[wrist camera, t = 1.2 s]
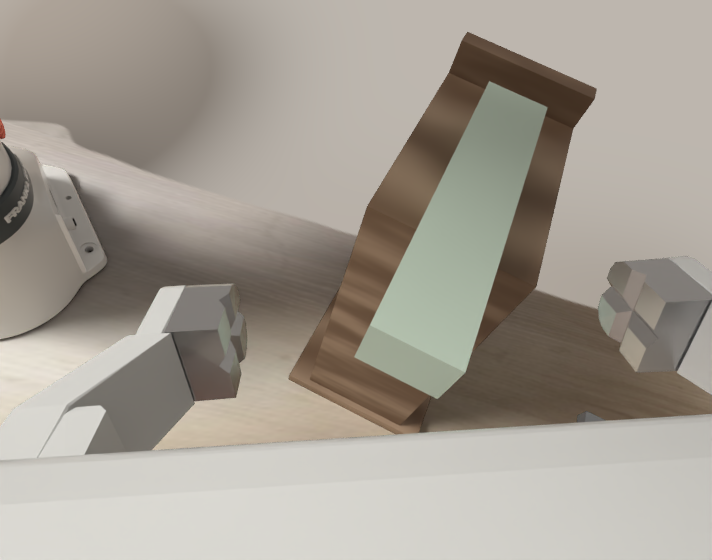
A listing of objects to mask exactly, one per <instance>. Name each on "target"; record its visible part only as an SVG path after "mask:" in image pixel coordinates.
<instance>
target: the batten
mask: <svg viewBox="0 0 712 560" xmlns="http://www.w3.org/2000/svg"><path fill="white" fill-rule="evenodd" d="M547 108H548V107H546V106H544V105H541V104H539V103H537V102H535V101H532V100H530V99H528V98H526V97H523V96H521V95H519V94H517V93H514V92H512V91H510V90H508V89H505V88H503V87H501V86H499V85H497V84H494V83H492V82H490V81H489V83H488V85H487V87H486V89H485V91H484V93H483V95H482V97H481V99H480V101H479V103H478V105H477V107H476V109H475V111H474V113H473V115H472V117H471V119H470V121H469V123H468V126H467V128H466V130H465V132H464V134H463V136H462V138H461V140H460V142H459V144H458V146H457V148H456V150H455V152H454V154H453V156H452V158H451V160H450V162H449V164H448V166H447V168H446V170H445V173H444V175H443V177H442V179H441V181H440V183H439V185H438V187H437V189H436V191H435V193H434V195H433V197H432V199H431V201H430V203H429V205H428V207H427V209H426V211H425V213H424V215H423V217H422V219H421V222H420V224H419V226H418V228H417V230H416V232H415V234H414V236H413V238H412V240H411V242H410V244H409V246H408V248H407V250H406V252H405V254H404V256H403V258H402V260H401V262H400V264H399V266H398V269H397V271H396V273H395V275H394V277H393V279H392V281H391V283H390V285H389V287H388V289H387V291H386V293H385V295H384V297H383V299H382V301H381V303H380V305H379V307H378V309H377V311H376V313H375V315H374V318H373V320H372V322H371V324H370V326H369V328H368V330H367V332H366V334H365V336H364V338H363V340H362V342H361V344H360V346H359V348H358V350H357V352H356V354H355V356H354V357H355V358H357V359H359V360H361V361H363V362H365V363H367V364H369V365H371V366H373V367H375V368H377V369H379V370H381V371H383V372H385V373H387V374H389V375H391V376H393V377H395V378H396V379H398V380H400V381H402V382H404V383H406V384H408V385H410V386H412V387H414V388H416V389H418V390H420V391H422V392H424V393H426V394H428V395H430V396H432V397H434V398H436V399H438V398H439V397H440V396H441V395H442V394H444V393H445V392H446V391H447V390H448V389H449V388H450V387H451V386H452V385H453V384H454V383H455V382H456V381H457V380H458V379H459V378H460V377H461V376H462V375H463V374H464V373H465V372H466V369H467V366H468V363H469V359H470V356H471V353H472V350H473V346H474V343H475V340H476V337H477V334H478V330H479V327H480V324H481V321H482V317H483V314H484V311H485V308H486V305H487V301H488V298H489V295H490V292H491V288H492V285H493V282H494V279H495V276H496V272H497V269H498V266H499V263H500V259H501V256H502V253H503V250H504V247H505V243H506V240H507V237H508V234H509V230H510V227H511V224H512V221H513V218H514V214H515V211H516V208H517V205H518V201H519V198H520V195H521V192H522V189H523V185H524V182H525V179H526V176H527V172H528V169H529V166H530V163H531V160H532V156H533V153H534V150H535V147H536V143H537V140H538V137H539V134H540V131H541V127H542V124H543V121H544V118H545V114H546V111H547Z"/></svg>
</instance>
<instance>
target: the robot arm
mask: <svg viewBox="0 0 712 560" xmlns="http://www.w3.org/2000/svg"><path fill="white" fill-rule="evenodd" d="M3 138H5V129H4V126H3V123H2V121H1V119H0V139H3ZM90 250H93V251H92V252H91V253H87V252H88V251H90ZM106 263H107V257H106V255H105V252H104V250H103V248H102V246H101V244H100V241H99V239H98V237H97V235H96V233H95V230H94V228H93V226H92V224H91V222H90V219H89V217H88V215H87V213H86V211H85V208H84V206H83V204H82V202H81V200H80V197H79V195H78V193H77V191H76V189H75V186H74V184H73V182H72V180H71V178H70V176H69V175H68V173H67V171H66V170H64V169H62V168H58V167H55V166H50V165H43V164H40V162H39V160H38V158H37V156H36V155H35V154H34V153H33V152H31V151H29V150H26V149H23V148H19V147H13V146H6V145H5V144H4V143H2V142H1V141H0V339H4V338H8V337H12V336H15V335H19V334H22V333H24V332H27V331H29V330H32V329H34V328H36V327H38V326H40V325H42V324H43V323H45V322H47V321H48V320H50V319H51V318H53V317H54V316H55V315H57V314H58V313H59V312H60V311H61V310H62V309H64V308H65V307H66V306H67V304H68V303H69V302H70V301H71V300H72V299H73V297H74V296H75V294H76V293H77V291H78V290H79V288H80V287H81V286H82V284H83V283H84V282H85V281H86V280H88V279H89V278H91V277H92V276H93V275H95V274H96V273H98V272H99V271H100V270H101V269H102V268H104V266H105V265H106ZM607 279H608V281H609V283H610V285H611V287H610V288H609V289H608V290H607V291H606V292H605V293H604V294H602V296H601V300H600V303H599V306H598V312H599V321H600V323H601V326H602V328H603V330H604V331H605V332H606V334H607V335H608V336H609V337H611V338H613V339H614V340H616V341H618V342H620V343H621V344H620V349H619V351H620V352H621V353H622V355H623V356H624V357H625V359H626V360H627V361H628V362H629V364H630V365H631V366H632V368H633V369H634V370H635V372H662V371H677V373H678V374H680V375H681V376H683V377H684V378H686V379H687V380H689V381H690V382H692V383H694V384H695V385H697V386H698V387H700V388H701V389H703V390H704V391H706V392H708V393H709V394H711V395H712V272H711V271H710V270H709V269H708V268H706V267H705V266H704V265H702V264H701V263H700V262H699V261H697V260H696V259H694V258H692V257H688V256H680V257H671V258H670V257H669V258H662V259H649V260H638V261H637V260H636V261H624V262H615V263H614V265H613V266H612V267H611V269H610V271H609V274H608V277H607ZM239 303H240V296H239V293H238V289H237V287H236V285H235V284H209V285H188V286H186V285H182V286H167V287H163V288H161V289H160V290H159V291H158V293H157V295H156V297H155V299H154V301H153V302H152V304H151V306H150V308H149V310H148V312H147V313H146V315H145V317H144V319H143V321H142V323H141V325H140V326H139V328H138V330H137V332H136V334H135V335H127V336H126V337H124V338H123V339H121V340H120V341H118V342H117V343H115V344H113V345H112V346H110V347H109V348H107V349H106V350H104V351H103V352H101V353H99V354H98V355H96V356H95V357H93V358H92V359H90V360H89V361H87V362H85V363H84V364H82V365H81V366H79V367H78V368H76V369H75V370H73V371H71V372H70V373H68V374H67V375H65V376H64V377H62V378H61V379H59V380H57V381H56V382H54V383H53V384H51V385H50V386H48V387H47V388H45V389H43V390H42V391H40V392H39V393H37V394H36V395H34V396H33V397H31V398H29V399H28V400H26V401H25V402H23V403H22V404H20V405H19V406H17V407H15V408H14V409H13V410H12V411H11V413H10V414H9V415H8V417H7V418H6V419H5V421H4V422H3V424H2V425H1V426H0V560H712V414H704V415H689V416H673V417H657V418H641V419H626V420H610V421H594V422H578V423H563V424H548V425H532V426H517V427H502V428H487V429H472V430H457V431H442V432H427V433H412V434H397V435H381V436H366V437H350V438H335V439H319V440H304V441H289V442H273V443H258V444H242V445H227V446H211V447H196V448H180V449H165V450H152V449H153V448H154V447H155V446H156V445H157V444H158V443H159V441H160V440H161V439H162V438H163V437H164V436H165V435H166V434H167V433H168V432H169V431H170V430H171V429H172V427H173V426H174V425H175V424H176V423H177V422H178V421H179V420H180V419H181V418H182V417H183V416H184V414H185V413H186V412H187V411H188V410H189V409H190V408H191V407H192V406H193V405H194V404H195V403H194V401H204V400H215V399H226V398H236V395H237V391H238V386H239V382H240V377H241V370H240V366H239V363H240V362H241V361H242V360H244V359H245V354H246V349H247V331H246V323H245V319H244V316H243V315H242V314H241V313H239V312H238V307H239Z"/></svg>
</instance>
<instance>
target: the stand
mask: <svg viewBox="0 0 712 560" xmlns="http://www.w3.org/2000/svg"><path fill="white" fill-rule="evenodd" d="M489 81H490V82H492V83H494V84H497V85H499V86H501V87H503V88H505V89H508V90H510V91H512V92H514V93H517V94H519V95H521V96H523V97H526V98H528V99H530V100H532V101H535V102H537V103H539V104H541V105H544V106H546V107H548V108H547V111H546V114H545V118H544V121H543V124H542V127H541V131H540V134H539V137H538V140H537V143H536V147H535V150H534V153H533V156H532V160H531V163H530V166H529V169H528V172H527V176H526V179H525V182H524V185H523V189H522V192H521V195H520V198H519V201H518V205H517V208H516V211H515V214H514V218H513V221H512V224H511V227H510V230H509V234H508V237H507V240H506V243H505V247H504V250H503V253H502V256H501V259H500V263H499V266H498V269H497V272H496V276H495V279H494V282H493V285H492V288H491V292H490V295H489V298H488V301H487V305H486V308H485V311H484V314H483V317H482V321H481V324H480V327H479V330H478V334H477V337H476V340H475V343H474V346H473V350H472V352H473V351H474V350H475V349H476V348H477V346H478V345H479V344H480V343H481V342H482V341H483V340H484V339H485V338H486V337H487V336H488V335H489V334H490V333H491V332H492V331H493V330H494V329H495V328H496V327H497V326H498V325H499V324H500V323H501V322H502V321H503V320H504V319H505V318H506V317H507V316H508V315H509V314H510V313H511V312H512V311H513V310H514V309H515V308H516V307H517V306H518V305H519V304H520V303H521V302H522V301H523V300H524V299H525V298H526V297H527V296H528V295H529V294H530V293H531V292H532V291H533V290H534V289H535V288H536V286H537V281H538V277H539V273H540V268H541V264H542V260H543V255H544V251H545V247H546V243H547V239H548V234H549V230H550V226H551V221H552V217H553V213H554V209H555V204H556V200H557V196H558V191H559V187H560V183H561V178H562V174H563V170H564V166H565V161H566V157H567V153H568V149H569V144H570V140H571V136H572V131H573V128H574V127H575V125H576V124H577V123H578V121H579V120H580V118H581V117H582V116H583V114H584V113H585V112H586V110H587V109H588V107H589V106H590V105H591V103H592V102H593V100H594V99H595V94H596V88H594V87H591V86H589V85H587V84H585V83H582V82H580V81H578V80H576V79H573V78H571V77H569V76H567V75H564V74H562V73H560V72H558V71H555V70H553V69H551V68H548V67H546V66H544V65H542V64H539V63H537V62H535V61H533V60H530V59H528V58H526V57H523V56H521V55H519V54H517V53H514V52H512V51H510V50H507V49H505V48H503V47H501V46H498V45H496V44H494V43H492V42H489V41H487V40H485V39H482V38H480V37H478V36H476V35H474V34H471V33H469V32H467V33H466V35H465V36H464V38H463V40H462V42H461V44H460V47H459V49H458V52H457V54H456V57H455V59H454V61H453V64H452V66H451V69H450V71H449V73H448V75H447V77H446V78H445V80H444V82H443V83H442V85H441V87H440V88H439V90H438V92H437V93H436V95H435V97H434V98H433V100H432V101H431V103H430V104H429V106H428V108H427V109H426V111H425V113H424V114H423V116H422V118H421V119H420V121H419V122H418V124H417V126H416V127H415V129H414V131H413V132H412V134H411V136H410V137H409V139H408V140H407V142H406V144H405V145H404V147H403V149H402V150H401V152H400V154H399V155H398V157H397V159H396V160H395V162H394V163H393V165H392V167H391V168H390V170H389V172H388V173H387V175H386V176H385V178H384V180H383V181H382V183H381V185H380V186H379V188H378V189H377V191H376V193H375V194H374V196H373V198H372V199H371V201H370V203H369V204H368V206H367V209H366V212H365V215H364V218H363V221H362V224H361V227H360V230H359V233H358V236H357V239H356V242H355V245H354V248H353V251H352V254H351V257H350V260H349V263H348V266H347V269H346V272H345V275H344V278H343V281H342V284H341V286H340V288H339V290H338V291H337V293H336V295H335V297H334V298H333V300H332V302H331V304H330V305H329V307H328V309H327V310H326V312H325V314H324V316H323V317H322V319H321V321H320V323H319V324H318V326H317V328H316V330H315V331H314V333H313V335H312V337H311V338H310V340H309V342H308V344H307V345H306V347H305V349H304V351H303V352H302V354H301V356H300V358H299V359H298V361H297V363H296V365H295V366H294V368H293V370H292V372H291V373H290V375H289V380H291V381H293V382H295V383H297V384H299V385H301V386H303V387H305V388H307V389H309V390H311V391H313V392H314V393H316V394H318V395H320V396H322V397H324V398H326V399H328V400H330V401H332V402H334V403H336V404H338V405H340V406H342V407H344V408H346V409H348V410H350V411H352V412H353V413H355V414H357V415H359V416H361V417H363V418H365V419H367V420H369V421H371V422H373V423H375V424H377V425H379V426H381V427H383V428H385V429H387V430H389V431H391V432H392V433H394V434H396V435H397V434H412V433H419V431H420V428H421V425H422V422H423V419H424V416H425V413H426V411H427V408H428V405H429V402H430V399H431V396H430V395H428V394H426V393H424V392H422V391H420V390H418V389H416V388H414V387H412V386H410V385H408V384H406V383H404V382H402V381H400V380H398V379H396V378H395V377H393V376H391V375H389V374H387V373H385V372H383V371H381V370H379V369H377V368H375V367H373V366H371V365H369V364H367V363H365V362H363V361H361V360H359V359H357V358H355V357H354V356H355V354H356V352H357V350H358V348H359V346H360V344H361V342H362V340H363V338H364V336H365V334H366V332H367V330H368V328H369V326H370V324H371V322H372V320H373V318H374V315H375V313H376V311H377V309H378V307H379V305H380V303H381V301H382V299H383V297H384V295H385V293H386V291H387V289H388V287H389V285H390V283H391V281H392V279H393V277H394V275H395V273H396V271H397V269H398V266H399V264H400V262H401V260H402V258H403V256H404V254H405V252H406V250H407V248H408V246H409V244H410V242H411V240H412V238H413V236H414V234H415V232H416V230H417V228H418V226H419V224H420V222H421V219H422V217H423V215H424V213H425V211H426V209H427V207H428V205H429V203H430V201H431V199H432V197H433V195H434V193H435V191H436V189H437V187H438V185H439V183H440V181H441V179H442V177H443V175H444V173H445V170H446V168H447V166H448V164H449V162H450V160H451V158H452V156H453V154H454V152H455V150H456V148H457V146H458V144H459V142H460V140H461V138H462V136H463V134H464V132H465V130H466V128H467V126H468V123H469V121H470V119H471V117H472V115H473V113H474V111H475V109H476V107H477V105H478V103H479V101H480V99H481V97H482V95H483V93H484V91H485V89H486V87H487V85H488V83H489Z"/></svg>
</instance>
